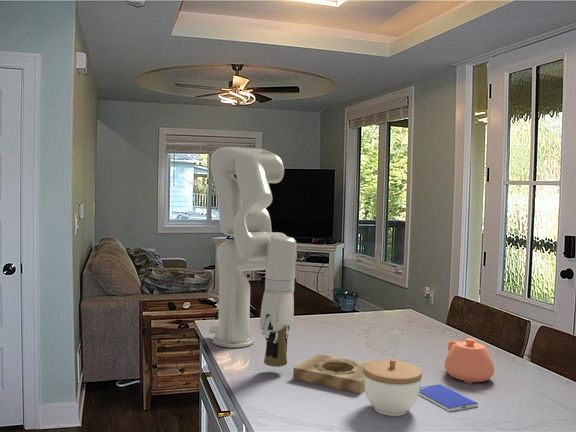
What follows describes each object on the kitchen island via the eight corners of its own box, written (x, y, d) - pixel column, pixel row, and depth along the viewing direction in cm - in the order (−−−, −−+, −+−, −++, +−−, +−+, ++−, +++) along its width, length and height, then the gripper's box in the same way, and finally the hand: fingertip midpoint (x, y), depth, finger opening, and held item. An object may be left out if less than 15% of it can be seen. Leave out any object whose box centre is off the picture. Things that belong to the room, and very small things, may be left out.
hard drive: (414, 387, 132) (450, 407, 121) (441, 383, 135) (478, 402, 124) (414, 394, 132) (449, 414, 121) (440, 390, 135) (477, 408, 124)
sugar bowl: (469, 389, 135) (470, 348, 135) (429, 371, 148) (431, 334, 147) (504, 382, 141) (506, 342, 140) (463, 366, 153) (465, 329, 153)
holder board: (293, 379, 138) (293, 367, 138) (317, 364, 150) (317, 353, 150) (360, 393, 130) (360, 381, 129) (380, 377, 142) (380, 365, 142)
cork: (290, 360, 145) (292, 319, 144) (282, 368, 139) (284, 325, 138) (268, 357, 146) (270, 316, 146) (260, 364, 141) (262, 322, 140)
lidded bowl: (408, 426, 112) (410, 373, 112) (352, 412, 119) (354, 361, 118) (427, 407, 123) (430, 358, 122) (375, 394, 130) (377, 348, 129)
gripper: (282, 277, 150) (279, 343, 151) (249, 288, 135) (246, 360, 137) (307, 281, 146) (303, 349, 148) (276, 292, 132) (272, 367, 133)
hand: (276, 353), depth 142 cm, fingers closed on cork, 3 cm apart
